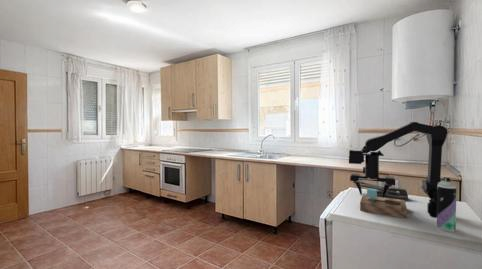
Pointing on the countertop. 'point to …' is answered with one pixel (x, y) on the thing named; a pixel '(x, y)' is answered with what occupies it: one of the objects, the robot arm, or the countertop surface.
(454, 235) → the countertop surface
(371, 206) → the keyhole plate
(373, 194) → the teal peg
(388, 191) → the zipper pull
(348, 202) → the countertop surface
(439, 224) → the spray can
